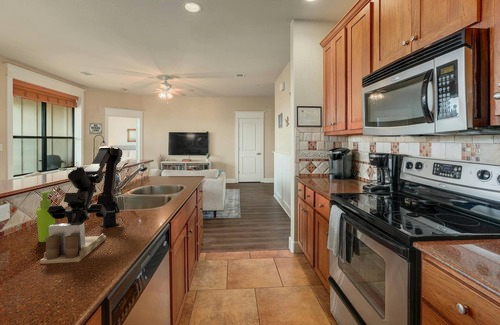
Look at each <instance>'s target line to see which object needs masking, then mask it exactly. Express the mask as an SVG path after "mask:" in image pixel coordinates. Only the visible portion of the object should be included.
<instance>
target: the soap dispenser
mask: <svg viewBox="0 0 500 325" xmlns="http://www.w3.org/2000/svg"><path fill="white" fill-rule="evenodd" d="M56 193H57V191H51V190H49V191H43V192H39V195H41V196H42V199H41V200H40V201H39V202H40V203H39V204H40V205H39V206H40V207H39V208H37V209H36V221H37V222H36V223H37V238H38V242H40V243H46V240H45V238H46V237H49V226H50V225H52V224H57V223H56V219H54V218H53V217H52V216H51V215H50V214H49V213H48V212H47V210H48V208H49V207H50V206H52V204H51V201H52V200H51V199H49V194H56Z"/></svg>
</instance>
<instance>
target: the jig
mask: <svg viewBox="0 0 500 325" xmlns="http://www.w3.org/2000/svg"><path fill="white" fill-rule="evenodd" d="M106 239H107V235H105V233H101V234H100V235H99V236H98V235H92V236H85V247H84V248H83V249H82V250H81V251H80V253H78V235H69V236H66V237H65V251H66V254H60V250H59V236H58V235H54V236H49V237H46V238H45V240H46V242H45V252H43V258H41V259H39V264H42V265H43V264H46V265H47V264H57V263H58V264H60V263H61V264H62V263H78V262H80V261H82V260H83V259H84V258H85V257H86V256H88V254H90V253H91V252H92V251H93V250H95V249H96V248H97V247H98V246H99V245H101V243H103V242H104V241H105V240H106Z"/></svg>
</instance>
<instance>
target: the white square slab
mask: <svg viewBox="0 0 500 325" xmlns="http://www.w3.org/2000/svg"><path fill="white" fill-rule="evenodd" d="M85 232H86V230H85V222H83V223H68V222H66V223H63V222H62V223H56V224H52V225H50V226H49V236H54V235H58V236H59V250H60V254H66V251H65V237H66V236H69V235H78V253H80V251H81V250H82V249H83V248H84V247H85V237H86V234H85Z"/></svg>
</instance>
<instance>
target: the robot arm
mask: <svg viewBox="0 0 500 325" xmlns="http://www.w3.org/2000/svg"><path fill="white" fill-rule="evenodd" d="M122 157H123V150H122V149H121V148H120V147H112V146H100V147H99V148H98V152H97V153H96V155H95V157H94V158H93V160H92V162H91V164H90V165H88V166H87V167H85V168H84V167H83V166H79V167H76V169H74V170H71V171H70V172H68V174H67V178H68V180H69V182H70V183H71V185H72V186H73V187H74V189H76V192H65V193H64V197H63V203H67V206H68V207H65V208H64V206H63V205H61V204H60V205H58V204H57V205H52V204H51V206H50V207H49V208H48V210H47V212H48V213H49V214H50V215H51V216H52V217H53V218H54V219H55V220H63V219H65V218H67V223H85V222H86V221H89V219H90V215H91V214H95V216H96V218H102V223H101V224H99V227H103V228H105V229H106V228H111V227H114V226H115V227H116V226H119V225H120V223H119V222H117V214H119V213H120V211H121V206H120V205H119V203H118V198H117V196H116V195H115V184H116V175H117V166H118V165H119V163H120V162H121V160H122ZM104 168H105V170H104ZM103 170H104V174H103ZM102 181H103V188H102V192H101V194H99V195H98V196H97V201H96V203H95V204H93V200H92V199H93V197H94V194H95V193H97V187H96V185H95V184H100V183H101V182H102Z"/></svg>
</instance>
